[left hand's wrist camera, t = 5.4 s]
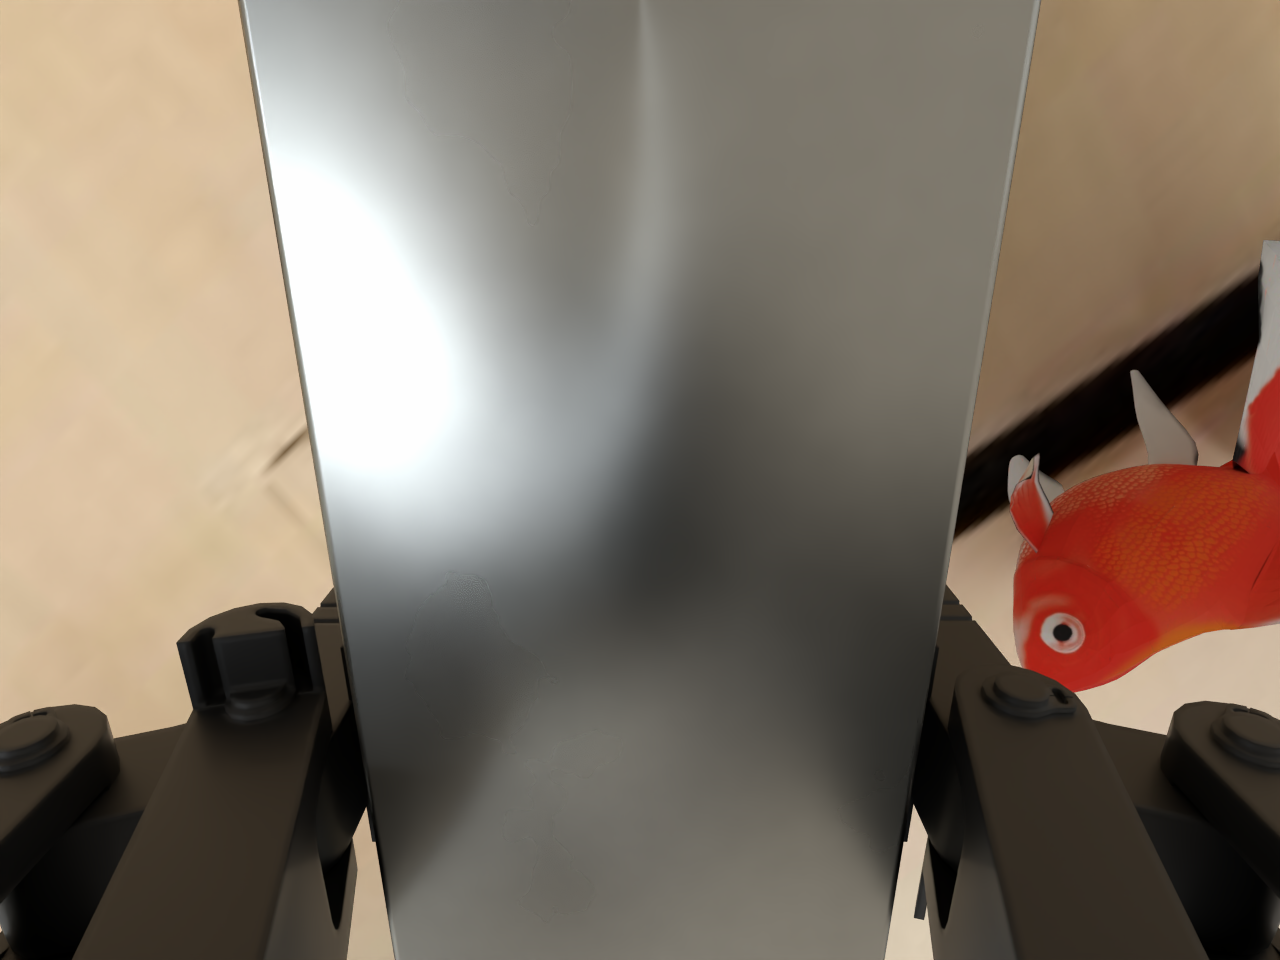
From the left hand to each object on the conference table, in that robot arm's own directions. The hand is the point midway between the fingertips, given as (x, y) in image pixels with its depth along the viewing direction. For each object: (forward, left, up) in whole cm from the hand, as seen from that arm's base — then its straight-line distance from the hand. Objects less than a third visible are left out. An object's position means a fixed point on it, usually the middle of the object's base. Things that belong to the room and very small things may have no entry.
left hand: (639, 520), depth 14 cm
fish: (0, -16, -10) cm, 18 cm away
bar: (+7, 0, -1) cm, 7 cm away
